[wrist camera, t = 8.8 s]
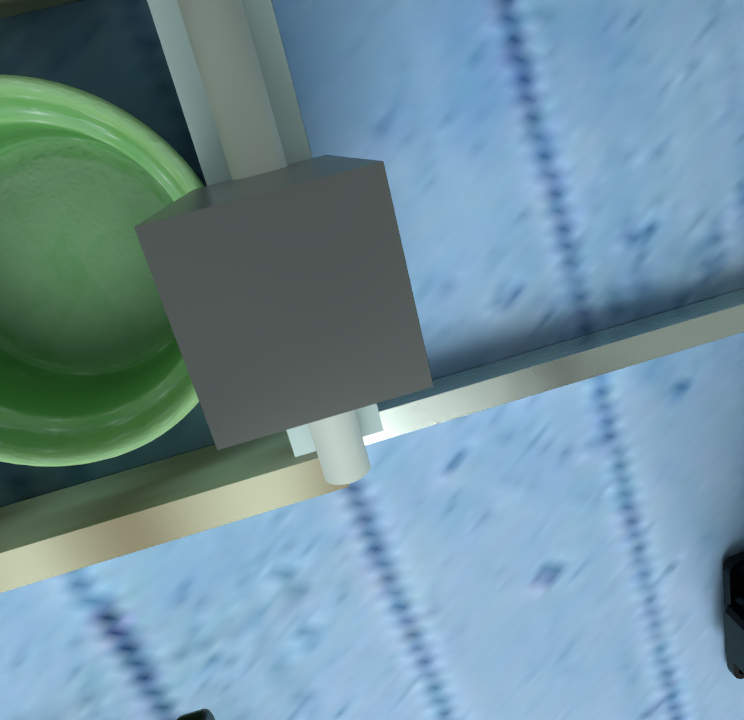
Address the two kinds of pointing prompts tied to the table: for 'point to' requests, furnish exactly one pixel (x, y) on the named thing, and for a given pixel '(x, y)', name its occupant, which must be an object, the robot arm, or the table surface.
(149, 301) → the ramekin
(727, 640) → the robot arm
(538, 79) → the table surface
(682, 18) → the table surface
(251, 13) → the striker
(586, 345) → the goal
